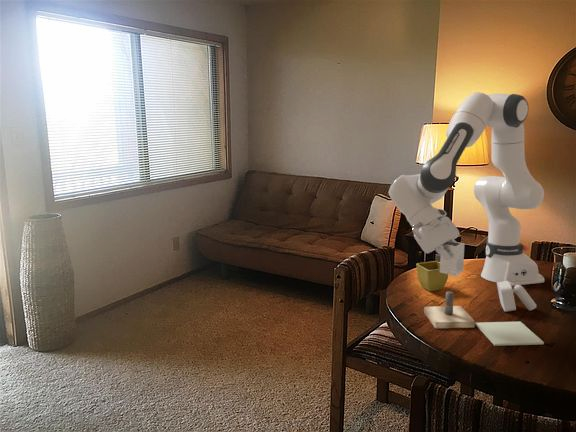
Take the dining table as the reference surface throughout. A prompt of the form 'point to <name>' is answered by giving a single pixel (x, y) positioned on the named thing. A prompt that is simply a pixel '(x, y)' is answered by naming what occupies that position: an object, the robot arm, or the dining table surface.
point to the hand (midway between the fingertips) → (454, 256)
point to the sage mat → (508, 333)
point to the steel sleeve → (454, 263)
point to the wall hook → (508, 297)
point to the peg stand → (449, 315)
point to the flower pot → (431, 276)
